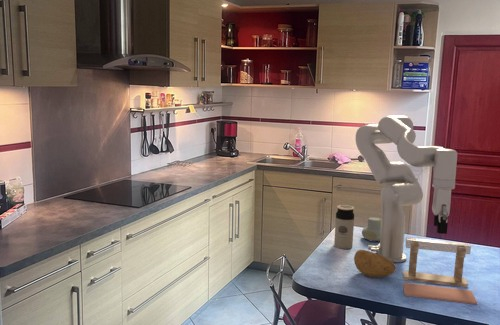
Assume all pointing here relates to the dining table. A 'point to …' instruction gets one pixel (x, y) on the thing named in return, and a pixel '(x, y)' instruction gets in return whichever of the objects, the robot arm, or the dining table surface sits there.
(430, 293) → the terracotta mat
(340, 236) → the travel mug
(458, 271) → the hook stand
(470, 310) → the dining table surface
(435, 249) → the steel bar
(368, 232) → the air freshener
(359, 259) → the potato
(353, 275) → the dining table surface
